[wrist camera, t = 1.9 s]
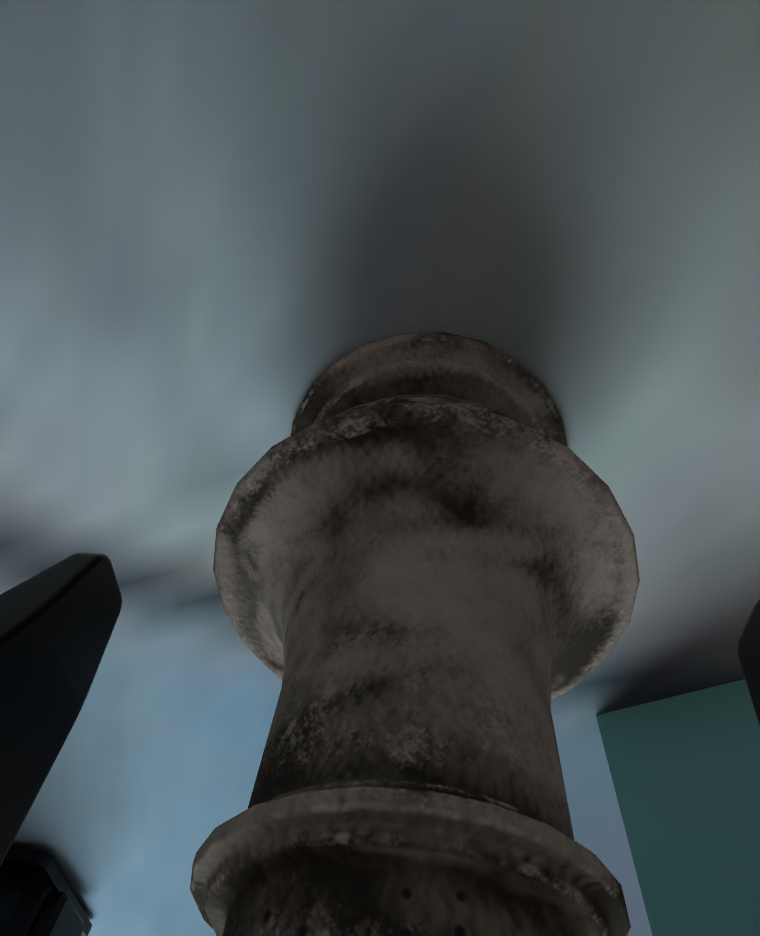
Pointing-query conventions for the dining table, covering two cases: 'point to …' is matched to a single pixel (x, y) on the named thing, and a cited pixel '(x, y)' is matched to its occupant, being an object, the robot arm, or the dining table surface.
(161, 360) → the dining table surface
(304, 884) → the salt shaker
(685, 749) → the teal block
